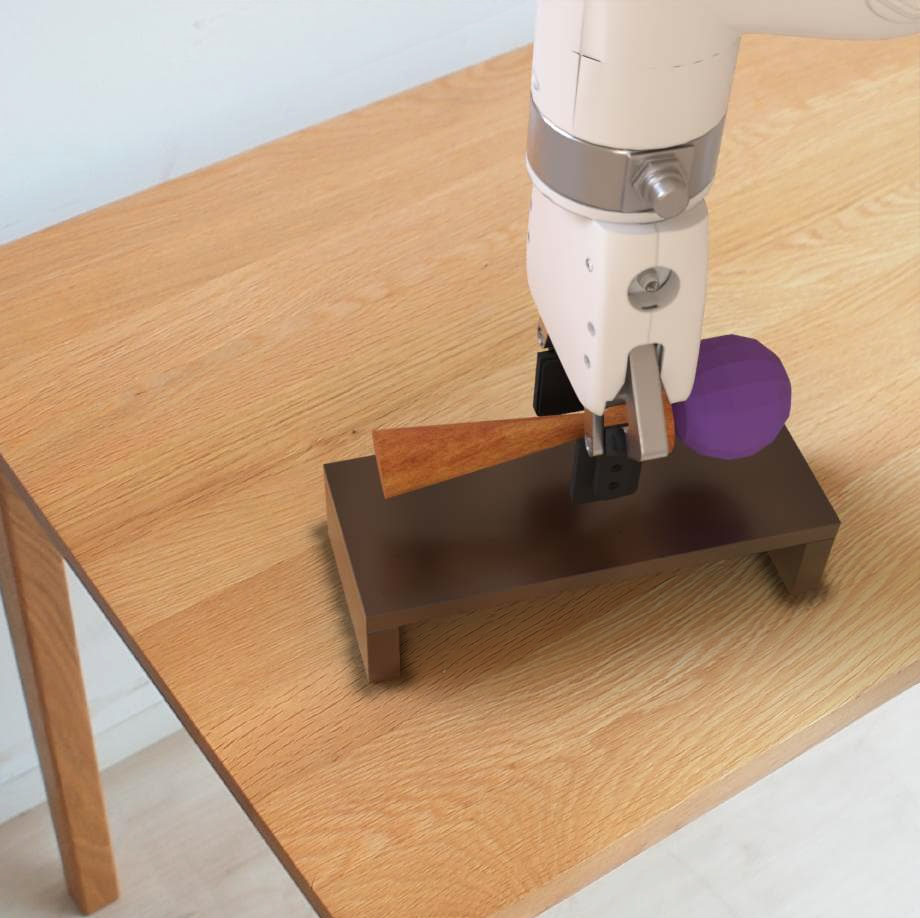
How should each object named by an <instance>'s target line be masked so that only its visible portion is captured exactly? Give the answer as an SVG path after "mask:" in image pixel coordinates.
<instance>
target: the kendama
mask: <svg viewBox="0 0 920 918" xmlns="http://www.w3.org/2000/svg"><path fill="white" fill-rule="evenodd" d="M661 391H662V399H663V407H664V415H665V423H666V431H667V439H668V447H669V452H668V453H671V452H672V450H673V448H674V439H675V435H676V436H677V437H678V439H679V440H680V441H681V442H682V443H684V444H685V445H687V446H688V447H689V448H691V449H692V450H694V451H695V452H697V453H698V454H701V455H705V456H710V457H715V458H720V459H726V460H731V459H736V458H741V457H747V456H752V455H754V454H755V453H757V452H758V451H760V450H761V449H763V448H764V447H766V446H767V445H769V444H770V443H772V442H773V441H774V439H775V438H776V436H777V435H778V433H779V432H780V430H781V429H782V427H783V425H784V424H785V425H786V422H787V420H788V419H789V417H790V414H791V409H792V383H791V380H790V377H789V375H788V372H787V369H786V368H785V366H784V364H783V362H782V361H781V358H780V357H779V356H778V355H777V354H776V353H775V352H774V351H772V350H771V349H770V348H768V347H767V346H766V345H764V343H762V342H760V340H757V339H756V338H754V337H753V338H752V337H747V336H744V335H739V334H734V333H729V334H724V335H718V336H713V337H707V338H701V341H700V348H699V355H698V361H697V368H696V374H695V379H694V384H693V388H692V391H691V393H690V395H689V397H688V398H687V399H686V401H682V402H676V403H672V404H670V402H669V400H668V398H667V396H666V394H665V393H664V391H663V389H662V387H661ZM627 422H628V415H627V407H626V404H624V405H618V406H613V407H608V409H607V410H604V427H605V426H611V425H616V424H622V423H627ZM371 436H372V443H373V448H374V455H376V460H377V466H378V471H379V475H380V480H381V485H382V489H383V493H384V497H385V499H388V498H391V497H394V496H397V495H400V494H404V493H407V492H410V491H413V490H417V489H420V488H423V487H426V486H429V485H433V484H436V483H439V482H442V481H445V480H449V479H452V478H455V477H458V476H462V475H465V474H468V473H471V472H474V471H478V470H481V469H484V468H487V467H490V466H494V465H497V464H500V463H503V462H507V461H510V460H513V459H516V458H519V457H523V456H526V455H529V454H532V453H536V452H539V451H542V450H545V449H548V448H552V447H555V446H558V445H561V444H564V443H568V442H571V441H574V440H577V439H580V438H582V437H584V412H576V413H568V414H562V415H552V416H540V417H539V416H529V417H518V418H504V419H503V418H502V419H493V420H481V421H480V420H479V421H469V422H468V421H467V422H456V423H445V424H444V423H443V424H433V425H432V424H430V425H421V426H419V425H418V426H407V427H396V428H395V427H394V428H384V429H372V430H371Z"/></svg>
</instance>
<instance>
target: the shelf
mask: <svg viewBox="0 0 920 918" xmlns="http://www.w3.org/2000/svg"><path fill="white" fill-rule="evenodd" d="M577 440H579V439H577ZM575 445H576V440H574V441H571V442H568V443H564V444H561V445H558V446H555V447H552V448H548V449H545V450H542V451H539V452H536V453H532V454H529V455H526V456H523V457H519V458H516V459H513V460H510V461H507V462H503V463H500V464H497V465H494V466H490V467H487V468H484V469H481V470H478V471H474V472H471V473H468V474H465V475H462V476H458V477H455V478H452V479H449V480H445V481H442V482H439V483H436V484H433V485H429V486H426V487H423V488H420V489H417V490H413V491H410V492H407V493H404V494H400V495H397V496H394V497H391V498H388V499H385V497H384V493H383V489H382V485H381V480H380V475H379V471H378V466H377V460H376V455H375V454H371V455H366V456H359V457H355V458H354V457H353V458H350V459H343V460H338V461H333V462H328V463H323V464H322V470H323V471H322V472H323V481H324V482H323V483H324V495H325V496H324V497H325V508H326V509H325V510H326V520H327V521H326V522H327V523H326V524H327V535H328V538H329V542H330V545H331V549H332V552H333V557H334V560H335V563H336V568H337V571H338V574H339V578H340V579H339V580H340V581H341V586H342V589H343V593H344V597H345V600H346V604H347V608H348V611H349V616H350V619H351V623H352V626H353V631H354V634H355V637H356V640H357V645H358V649H359V652H360V655H361V659H362V663H363V666H364V667H363V668H364V671H365V674H366V678H367V681H368V683H369V684H372V683H378V682H383V681H387V680H392V679H396V678H397V679H398V678H399V677H401V659H400V657H401V656H400V652H401V651H400V627H401V626H405V625H411V624H415V623H420V622H421V623H422V622H424V621H425V622H426V621H430V620H435V619H440V618H445V617H449V616H455V615H461V614H466V613H470V612H475V611H479V610H484V609H489V608H494V607H499V606H504V605H509V604H513V603H519V602H524V601H527V600H529V601H530V600H533V599H538V598H543V597H549V596H553V595H559V594H562V593H568V592H573V591H577V590H583V589H587V588H588V589H589V588H592V587H598V586H602V585H607V584H613V583H618V582H623V581H627V580H631V579H635V578H636V579H637V578H642V577H647V576H651V575H656V574H661V573H666V572H671V571H676V570H677V571H678V570H680V569H686V568H691V567H697V566H701V565H705V564H710V563H716V562H720V561H725V560H726V561H727V560H730V559H735V558H741V557H744V556H749V555H755V554H761V553H767V555H768V556H769V558H770V560H771V562H772V564H773V566H774V567H775V570H776V571H777V573H778V575H779V577H780V579H781V581H782V583H783V586H784V587H785V589H786V591H787V592H788V593H787V594H788V595H790V596H795V595H798V594H803V593H807V592H813V591H817V590H818V589H819V587H820V584H821V581H822V579H823V575H824V572H825V569H826V567H827V564H828V561H829V557H830V555H831V552H832V549H833V546H834V543H835V540H836V537H837V536H838V532H839V530H840V527H841V525H842V524H841V523H842V521H841V519H840V517H839V516H838V514H837V512H836V510H835V509H834V506H833V505H832V503H831V502H830V499H829V498H828V496H827V494H826V493H825V491H824V489H823V488H822V486H821V484H820V482H819V481H818V479H817V477H816V475H815V474H814V472H813V471H812V469H811V467H810V465H809V463H808V462H807V460H806V458H805V456H804V454H803V453H802V451H801V450H800V448H799V446H798V444H797V443H796V441H795V439H794V437H793V435H792V434H791V432H790V430H789V428H788V427H787V425H786V423H785V424H784V425H783V427H782V429H781V430H780V432H779V433H778V435H777V436H776V438H775V439H774V441H773V442H772V443H770V444H769V445H767V446H766V447H764V448H763V449H761V450H760V451H758V452H757V453H755V454H754V455H752V456H747V457H741V458H736V459H731V460H726V459H720V458H715V457H710V456H705V455H701V454H698V453H697V452H695V451H694V450H692V449H691V448H689V447H688V446H687V445H685V444H684V443H682V442H681V441H680V440H679V439H678V437H677V436H676V435H675V439H674V448H673V450H672V452H671V453H668V456H667V457H662V458H657V459H652V460H646V461H642V467H641V473H640V478H639V484H638V489H637V491H636V492H635V493H633V494H631V495H628V496H622V497H620V498H617V499H612V500H607V501H596V502H591V503H586V504H581V505H576V504H574V503H573V501H572V498H571V496H570V486H571V478H572V469H573V461H574V453H575Z"/></svg>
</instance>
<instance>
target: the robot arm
mask: <svg viewBox="0 0 920 918" xmlns="http://www.w3.org/2000/svg"><path fill="white" fill-rule="evenodd" d="M535 2H536V3H535V19H534V32H533V33H534V35H533V36H534V37H533V47H532V48H533V49H532V60H531V61H532V64H531V76H530V77H531V79H530V91H529V92H530V93H529V107H528V119H527V120H528V121H527V134H526V135H527V136H526V148H525V168H526V172H527V175H528V177H529V179H530V181H531V183H532V190H531V197H530V204H529V212H528V222H527V233H526V234H527V236H526V254H525V255H526V259H525V260H526V261H525V262H526V278H527V282H528V287H529V291H530V294H531V296H532V300H533V302H534V305H535V307H536V308H537V312H538V314H539V319H538V321H537V326H536V336H537V341H538V344H539V347H540V349H542V351H537V352H536V361H535V363H536V364H535V376H534V386H533V397H532V398H533V399H532V409H533V411H534V413H535V416H536V417H540V416H552V415H564V414H574V413H580V412H583V413H584V437H582V438H580V439H579V440H576V445H575V453H574V461H573V469H572V478H571V486H570V496H571V498H572V501H573V503H574V504H576V505H581V504H586V503H591V502H596V501H607V500H612V499H617V498H620V497H622V496H628V495H631V494H633V493H635V492H636V491H637V489H638V484H639V478H640V473H641V467H642V461H646V460H652V459H657V458H662V457H667V456H668V452H669V447H668V439H667V431H666V423H665V415H664V407H663V399H662V391H661V387H662V389H663V391H664V393H665V394H666V396H667V398H668V400H669V402H670V404H672V403H676V402H682V401H686V399H687V398H688V397H689V395H690V393H691V391H692V388H693V384H694V379H695V374H696V368H697V361H698V355H699V348H700V341H701V340H702V334H703V333H702V332H703V325H704V318H705V310H706V299H707V288H708V276H709V275H708V274H709V247H710V245H709V244H710V241H709V240H710V239H709V235H710V234H709V233H710V231H709V210H708V206H707V203H706V200H705V197H706V196H707V195H709V193H710V191H711V189H712V187H713V186H714V182H715V178H716V174H717V167H718V161H719V156H720V151H721V145H722V141H723V136H724V129H725V125H726V120H727V113H728V109H729V104H730V100H731V99H730V98H731V93H732V88H733V84H734V83H733V82H734V78H735V72H736V68H737V62H738V56H739V51H740V46H741V42H742V37H743V36H745V35H765V36H777V37H792V38H804V39H816V40H825V41H827V40H829V41H844V42H845V41H846V42H875V41H888V40H895V39H900V38H905V37H907V36H909V37H910V36H912V35H917V34H920V0H536V1H535ZM544 349H545V350H544ZM546 349H547V350H546ZM624 404H626V407H627V415H628V422H627V423H622V424H616V425H611V426H605V427H604V410H607V409H608V407H613V406H618V405H624Z"/></svg>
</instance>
